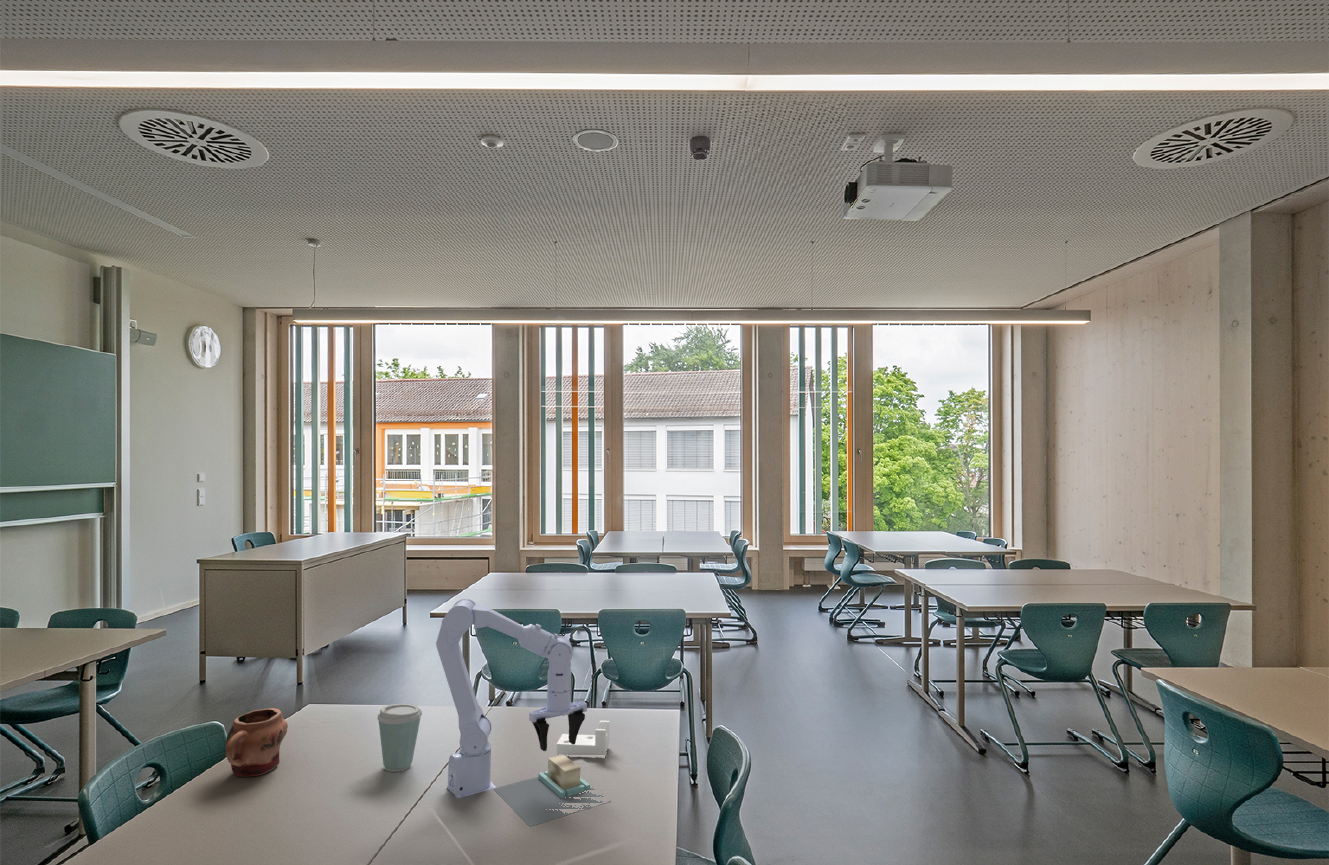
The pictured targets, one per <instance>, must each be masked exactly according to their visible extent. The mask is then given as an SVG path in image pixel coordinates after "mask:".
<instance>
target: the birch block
mask: <svg viewBox="0 0 1329 865" xmlns="http://www.w3.org/2000/svg"><path fill="white" fill-rule="evenodd" d="M547 760H548V762H547V763H548V765H547V771H548V777H549V778H550V779H551V780H552V781H553V782H554V783H556V784H557V785H558V786H559V787H560V788H562V789H563V790H564V791H565V790H566V789H569V788H573V787H576V786H580V777H581V767H580V766H579V764H577V763H575V762H574V761H573V760H572V759H570V757H566V756H565V755H559V756H556V755H555V756H552V757H551V756H550V757H548V759H547Z"/></svg>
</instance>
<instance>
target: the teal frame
mask: <svg viewBox="0 0 1329 865" xmlns="http://www.w3.org/2000/svg"><path fill="white" fill-rule="evenodd" d="M537 774H538V776H537V777H538V778H539V779H540V780H541V781H542V782H543V783H544V784H546V785H547V786H548V787H549V788H550V789H551V790H552V791H554V792H555V793H556V794H557V795H558V796H559V797H561V798H564V797H565V795H566V796H571V795H574V794H578V793H581V792H584V791H585V790H586V791H587V790H590V785H591V784H590V783H589V782H588V781H587V780H585V779H583V777H581V776H580V786H576V787H573V788H569V789H566V790H565V791H564V790H563V789H562V788H560V787H559V786H558V785H557V784H556V783H554V782H553V781H552V780H551V779H550V778H549V777H548V770H545V771H543V772H538V773H537Z"/></svg>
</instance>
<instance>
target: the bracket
mask: <svg viewBox="0 0 1329 865" xmlns="http://www.w3.org/2000/svg"><path fill="white" fill-rule="evenodd" d="M598 727H599V728H595V734H578V735H577V738H576V742H575V744H571V743H570V742H569V733H562V734H561V736H560V737H559V739H558V741H557V742H556V748H555V749H556V750H555V751H556V754H557V755H559V754H562V755H567V754H568V755H605V754H606V751H607V752H608V750H607V749H609V747H610V720H599V726H598ZM608 746H609V747H608Z"/></svg>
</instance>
